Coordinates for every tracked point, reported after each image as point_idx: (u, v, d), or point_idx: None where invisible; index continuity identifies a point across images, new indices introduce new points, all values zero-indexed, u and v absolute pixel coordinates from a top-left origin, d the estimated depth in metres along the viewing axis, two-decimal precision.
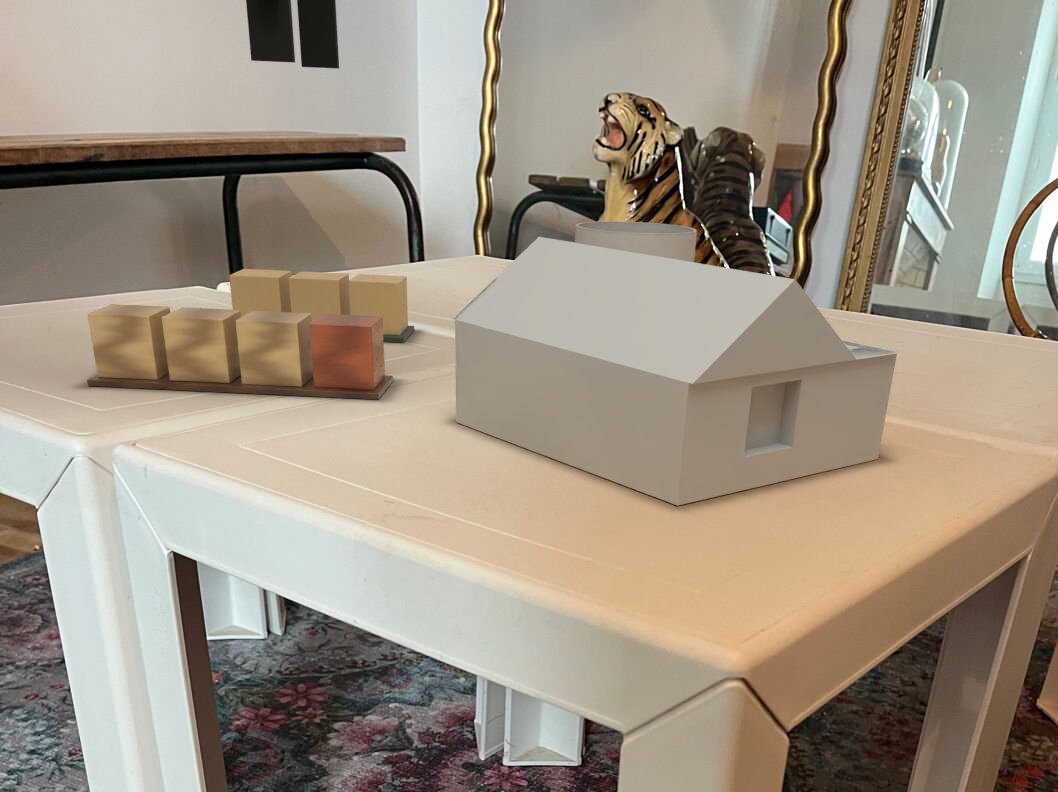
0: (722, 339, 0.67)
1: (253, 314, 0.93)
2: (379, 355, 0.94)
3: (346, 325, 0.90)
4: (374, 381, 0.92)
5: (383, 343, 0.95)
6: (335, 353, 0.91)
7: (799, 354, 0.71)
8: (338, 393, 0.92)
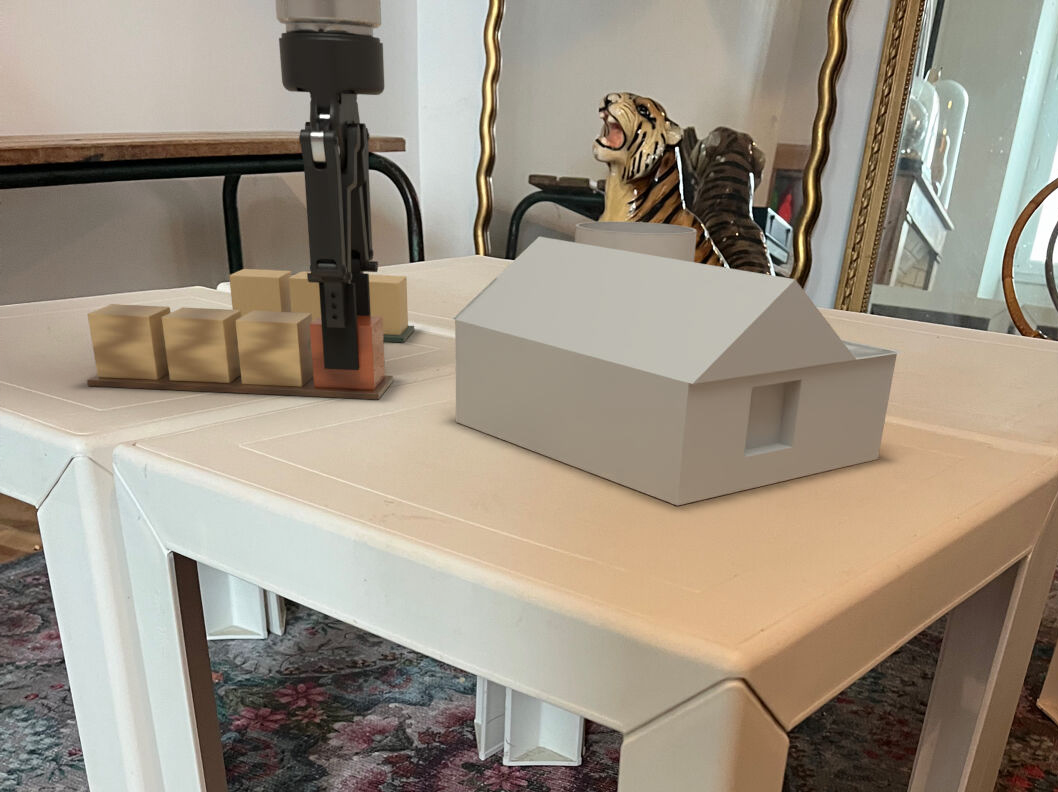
0: (722, 339, 0.67)
1: (253, 314, 0.93)
2: (379, 355, 0.94)
3: None
4: (374, 381, 0.92)
5: (383, 343, 0.95)
6: None
7: (799, 354, 0.71)
8: (338, 393, 0.92)
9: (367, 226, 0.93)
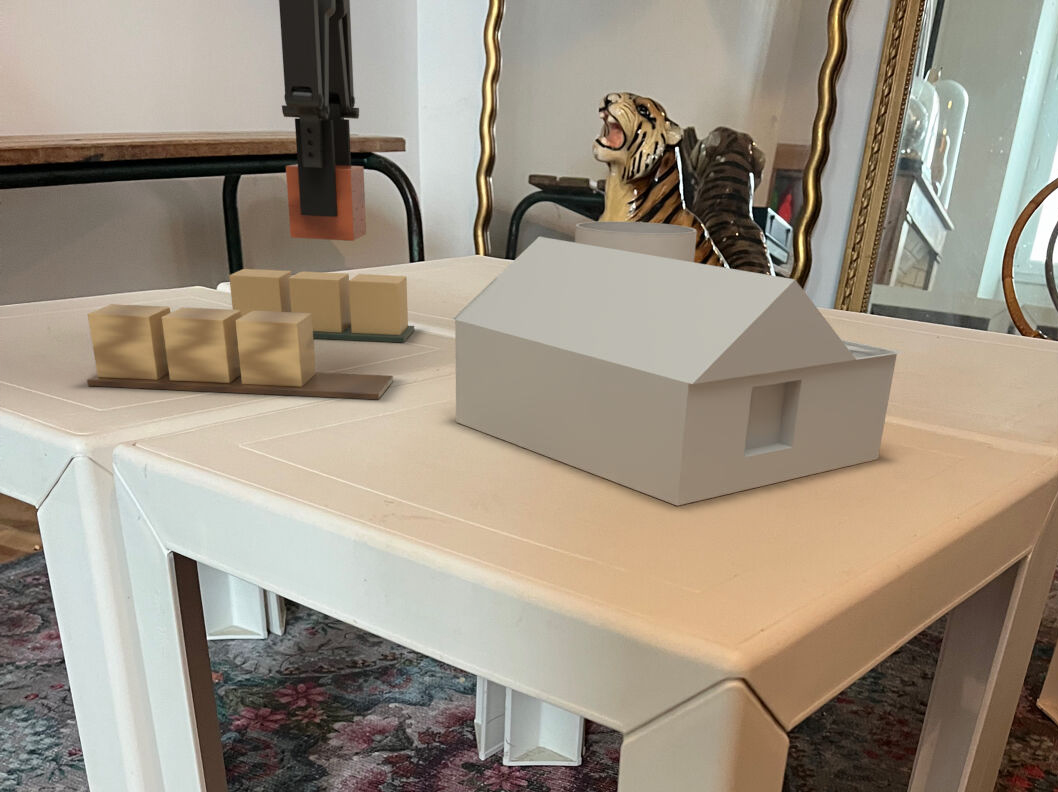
0: (722, 339, 0.67)
1: (253, 314, 0.93)
2: (359, 206, 0.89)
3: None
4: (353, 231, 0.88)
5: (364, 196, 0.91)
6: None
7: (799, 354, 0.71)
8: (338, 393, 0.92)
9: (348, 69, 0.89)
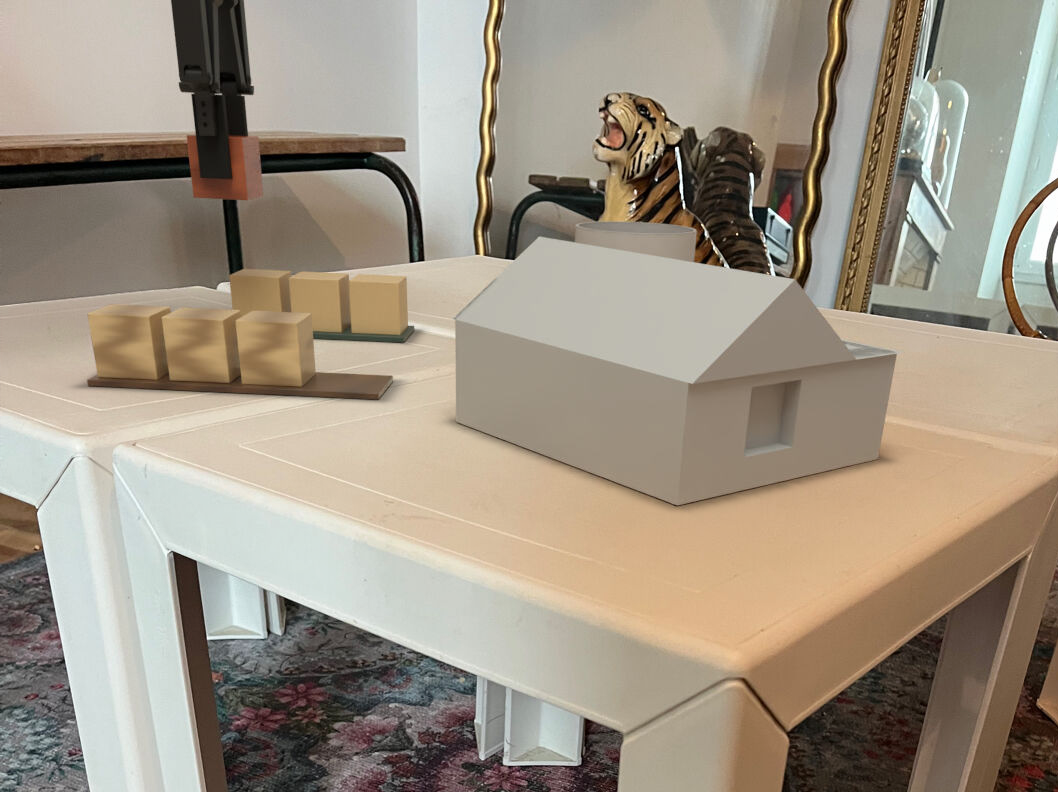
0: (722, 339, 0.67)
1: (253, 314, 0.93)
2: (254, 171, 1.03)
3: None
4: (247, 192, 1.01)
5: (260, 162, 1.04)
6: None
7: (799, 354, 0.71)
8: (338, 393, 0.92)
9: (243, 52, 1.02)
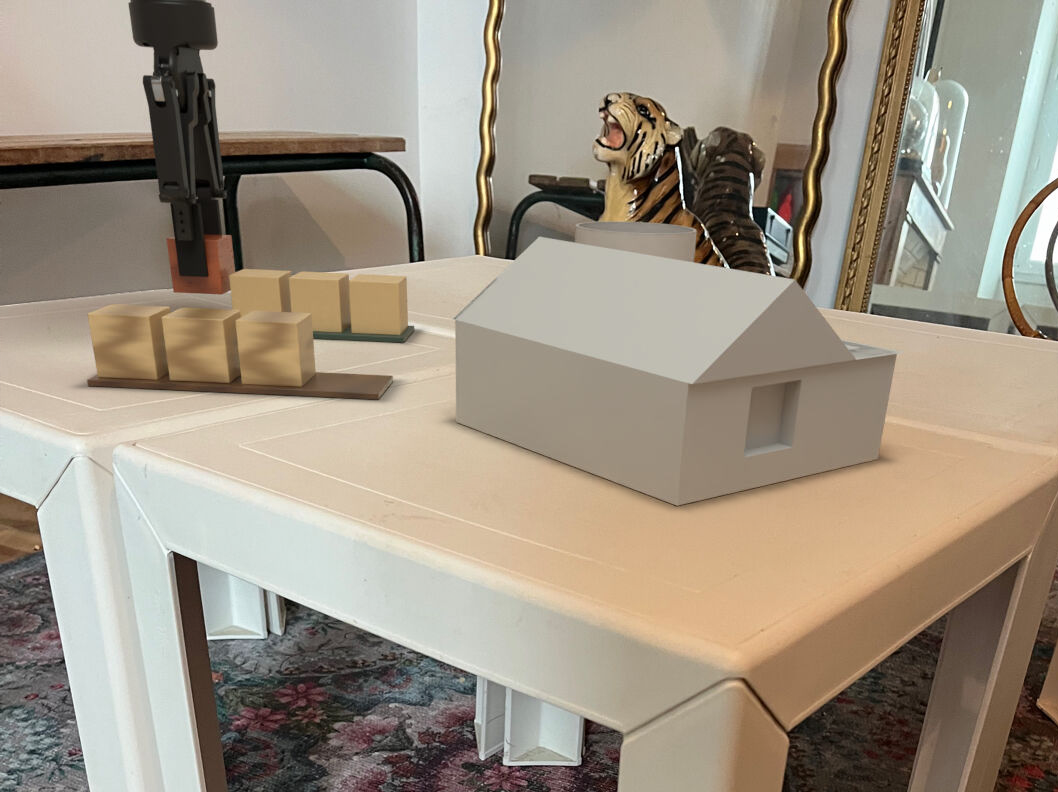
0: (722, 339, 0.67)
1: (253, 314, 0.93)
2: (228, 266, 1.14)
3: None
4: (222, 287, 1.13)
5: (233, 258, 1.16)
6: None
7: (799, 354, 0.71)
8: (338, 393, 0.92)
9: (216, 160, 1.13)
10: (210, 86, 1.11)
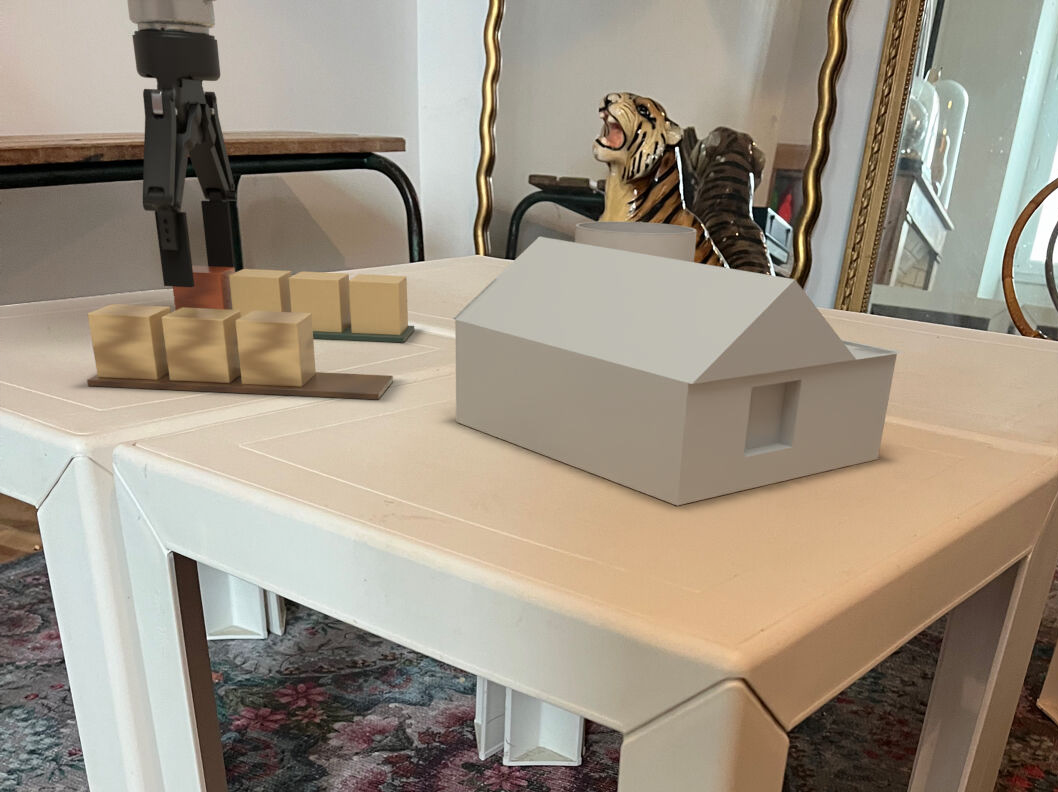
0: (722, 339, 0.67)
1: (253, 314, 0.93)
2: (231, 298, 1.16)
3: (200, 272, 1.12)
4: None
5: None
6: (192, 295, 1.13)
7: (799, 354, 0.71)
8: (338, 393, 0.92)
9: (226, 169, 1.17)
10: (212, 102, 1.11)
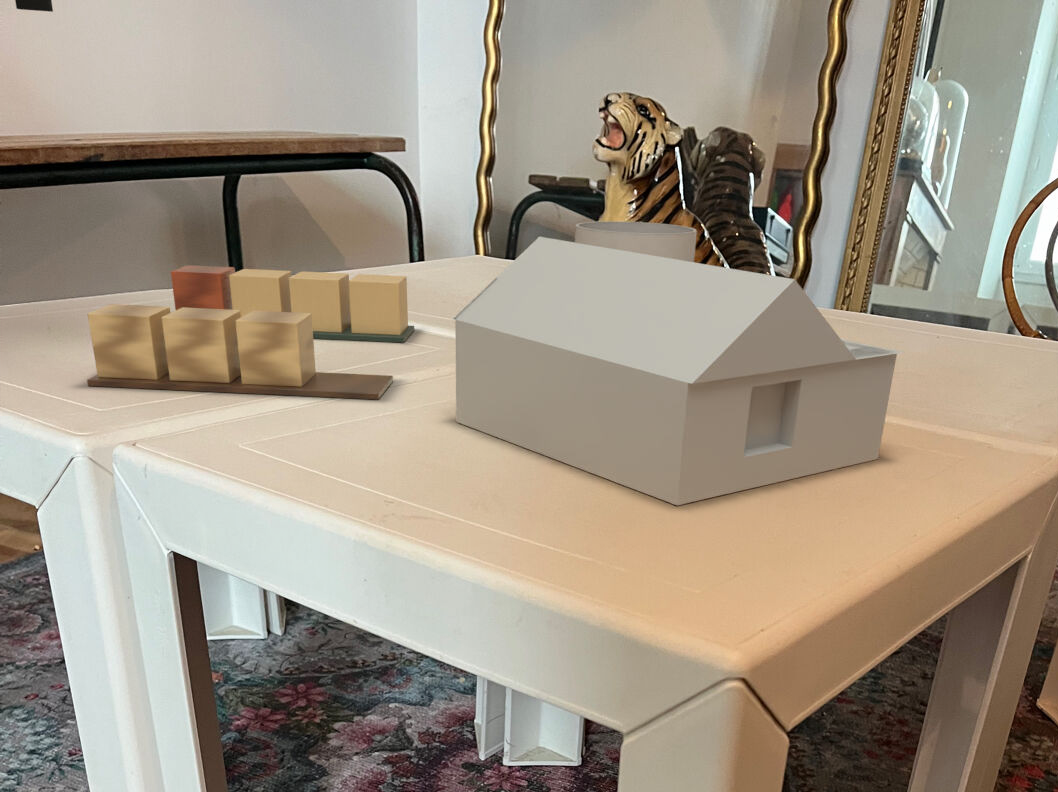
0: (721, 339, 0.67)
1: (253, 314, 0.93)
2: (231, 298, 1.16)
3: (200, 272, 1.12)
4: None
5: None
6: (192, 295, 1.13)
7: (799, 354, 0.71)
8: (338, 393, 0.92)
9: None
10: None
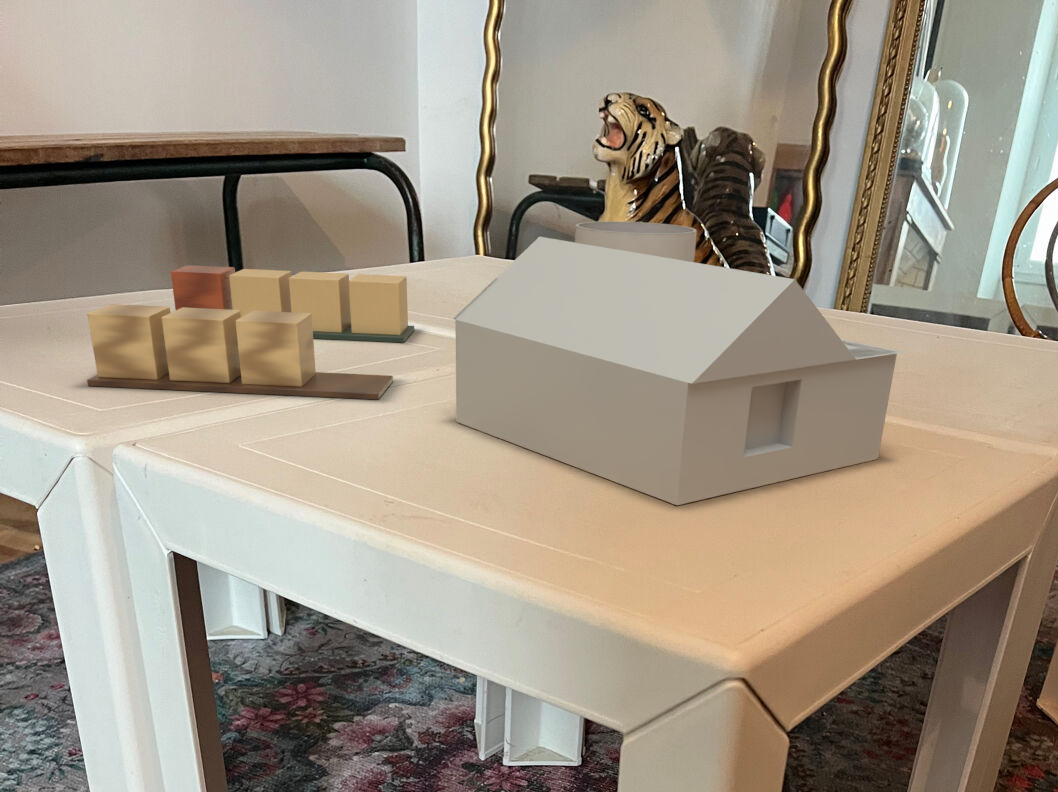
0: (721, 339, 0.67)
1: (253, 314, 0.93)
2: (231, 298, 1.16)
3: (200, 272, 1.12)
4: None
5: None
6: (192, 295, 1.13)
7: (799, 354, 0.71)
8: (338, 393, 0.92)
9: None
10: None
